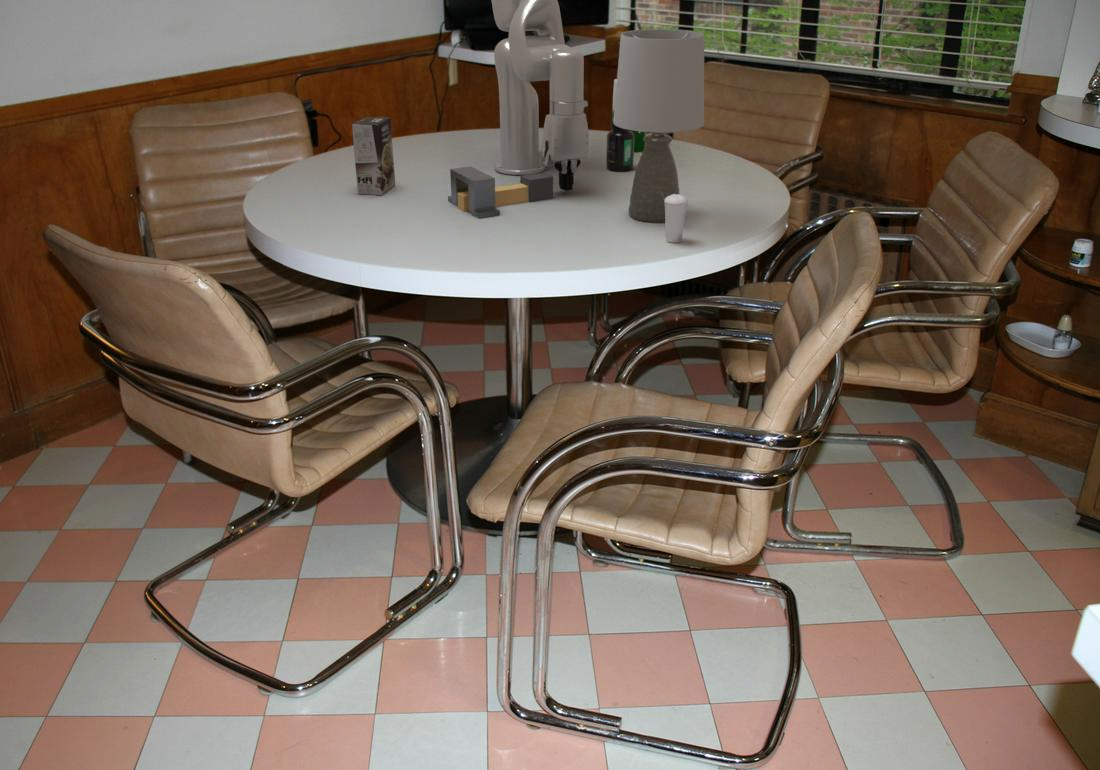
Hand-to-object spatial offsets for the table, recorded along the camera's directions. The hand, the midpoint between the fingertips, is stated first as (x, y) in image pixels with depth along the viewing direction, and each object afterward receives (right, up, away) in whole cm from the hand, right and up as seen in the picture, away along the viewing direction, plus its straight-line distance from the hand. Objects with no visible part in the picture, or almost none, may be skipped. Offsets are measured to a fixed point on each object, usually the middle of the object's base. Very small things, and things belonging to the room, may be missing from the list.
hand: (566, 189), depth 228 cm
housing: (-21, -6, -10) cm, 24 cm away
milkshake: (+20, -17, -31) cm, 41 cm away
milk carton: (+18, +19, +40) cm, 48 cm away
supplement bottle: (+14, +9, +21) cm, 27 cm away
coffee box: (-44, 0, +4) cm, 44 cm away
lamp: (+19, -9, -16) cm, 26 cm away
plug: (-14, -4, -7) cm, 16 cm away
